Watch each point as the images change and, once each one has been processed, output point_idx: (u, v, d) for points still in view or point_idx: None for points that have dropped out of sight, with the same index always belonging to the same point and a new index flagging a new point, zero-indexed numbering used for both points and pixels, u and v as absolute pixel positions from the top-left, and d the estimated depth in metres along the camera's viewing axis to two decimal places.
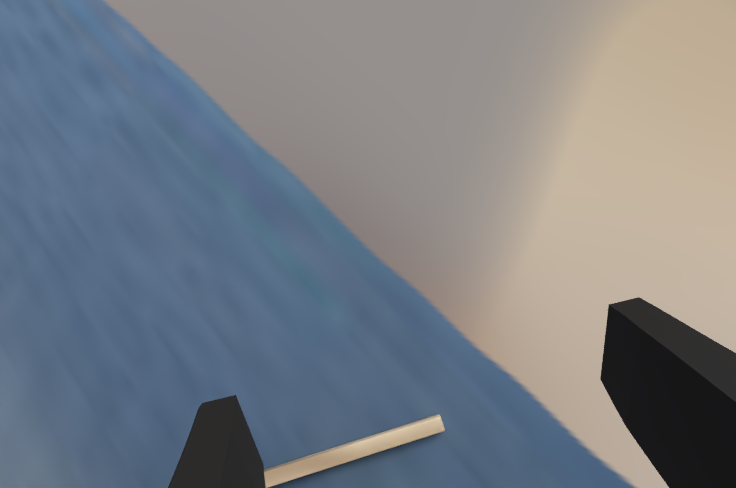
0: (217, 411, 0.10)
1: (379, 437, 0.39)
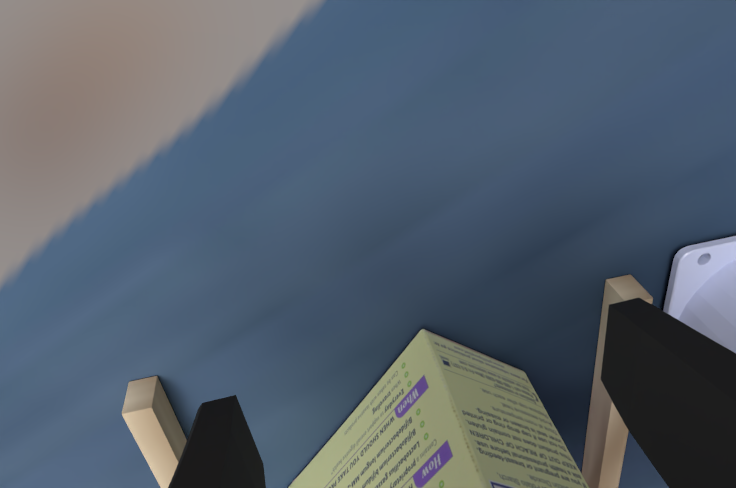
0: (217, 411, 0.10)
1: None
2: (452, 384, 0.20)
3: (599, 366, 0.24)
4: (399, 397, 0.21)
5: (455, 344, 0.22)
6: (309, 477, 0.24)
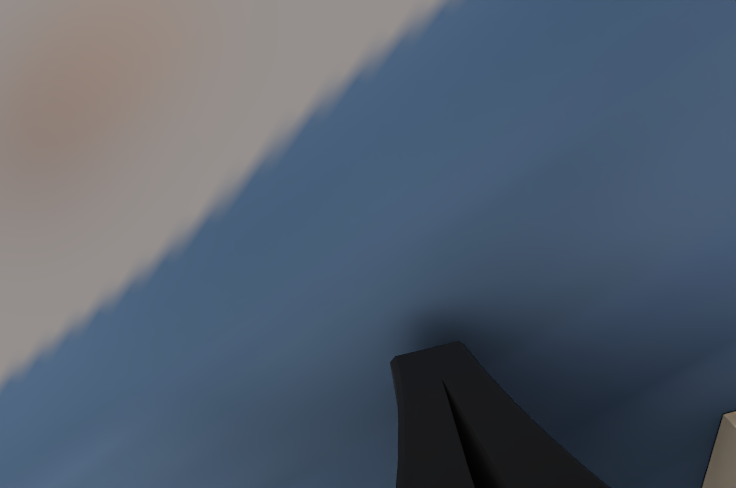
0: (416, 362, 0.10)
1: None
2: None
3: None
4: None
5: None
6: None
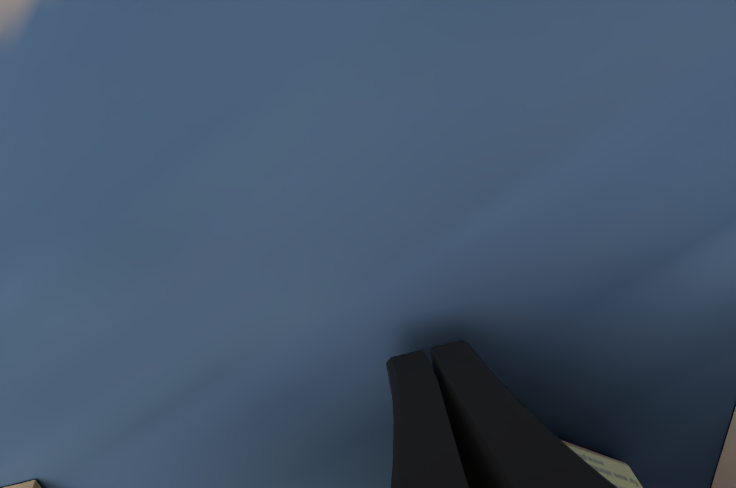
0: (412, 363, 0.10)
1: None
2: None
3: None
4: None
5: None
6: None
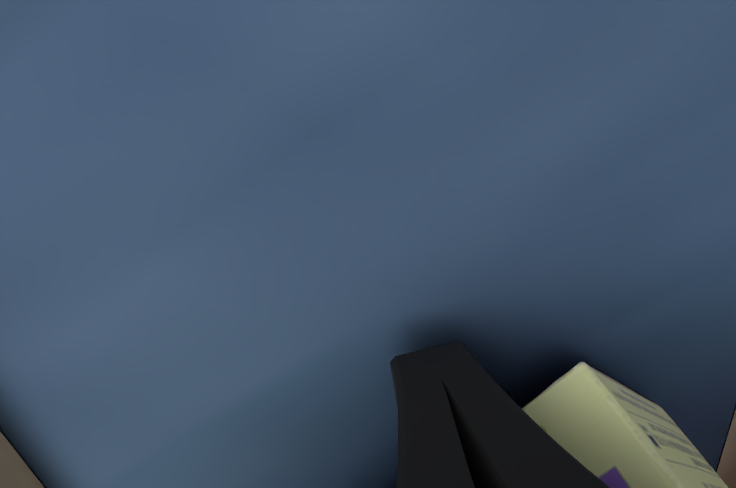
0: (416, 362, 0.10)
1: None
2: None
3: None
4: None
5: (615, 383, 0.12)
6: None
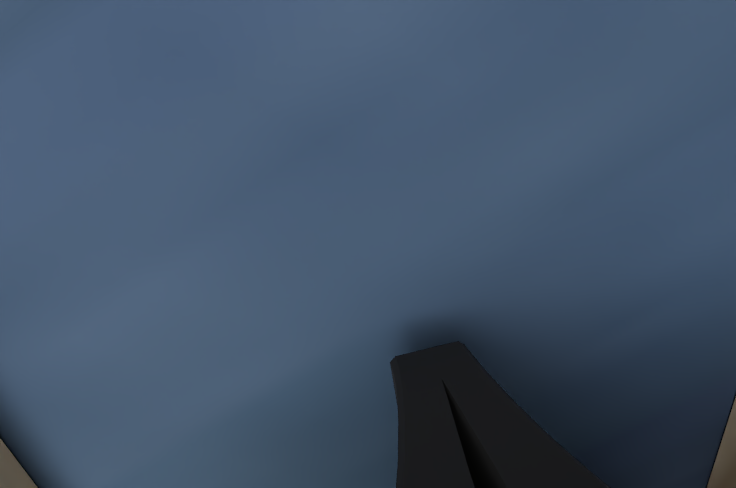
0: (416, 362, 0.10)
1: None
2: None
3: None
4: None
5: None
6: None
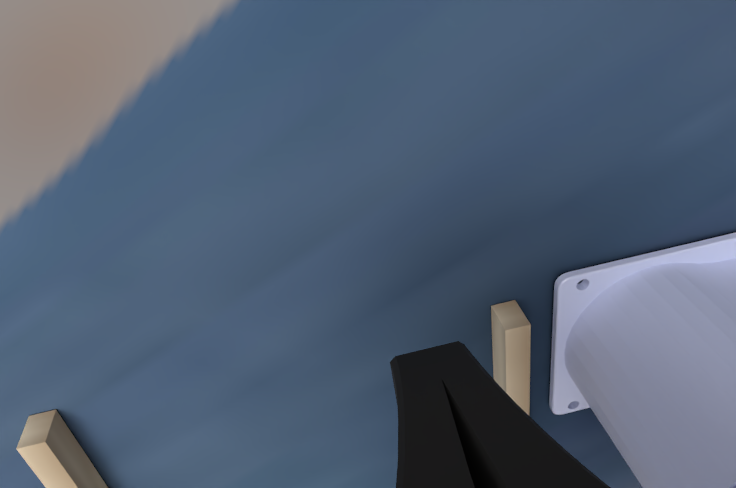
0: (416, 362, 0.10)
1: None
2: None
3: None
4: None
5: None
6: None
